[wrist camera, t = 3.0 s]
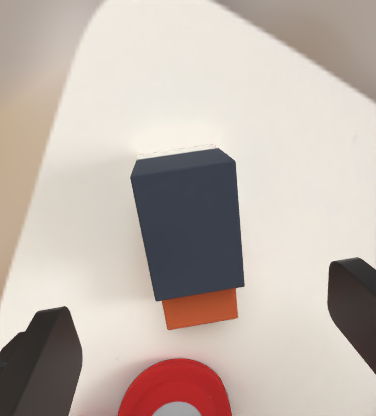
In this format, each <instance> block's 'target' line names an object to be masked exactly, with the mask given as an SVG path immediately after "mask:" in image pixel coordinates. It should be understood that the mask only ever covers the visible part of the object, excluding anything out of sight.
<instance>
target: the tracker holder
mask: <svg viewBox="0 0 376 416" xmlns="http://www.w3.org/2000/svg"><path fill="white" fill-rule="evenodd" d="M118 416H232V413H231V409H230V404H229V400H228V396H227V393H226V390H225V388H224V385H223V383H222V381H221V379H220V378H219V376H218V375H217V374H216V373H215V372H214V371H213V370H212V369H210V368H209V367H208V366H206V365H204V364H202V363H200V362H197V361H194V360H190V359H171V360H165V361H162V362H159V363H157V364H155V365H153V366H151V367H149V368H148V369H146V370H145V371H144V372H142V373H141V374H140V375H139V376H138V377H137V378H136V379H135V380H134V381H133V382H132V384H131V385H130V387H129V388H128V390H127V391H126V393H125V396H124V398H123V400H122V402H121V405H120V409H119V412H118Z"/></svg>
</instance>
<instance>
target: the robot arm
mask: <svg viewBox="0 0 376 416" xmlns="http://www.w3.org/2000/svg"><path fill="white" fill-rule="evenodd" d="M327 303H328V310H329V313H330V316H331V318H332V320H333V322H334V323H335V325H336V326H337V327H338V328H339V330H340V331H341V332H342V333H343V335H344V336H345V337H346V338H347V339H348V341H349V342H350V343H351V344H352V346H353V347H354V348H355V349H356V351H357V352H358V353H359V354H360V355H361V357H362V358H363V359H364V360H365V362H366V363H367V364H368V365H369V367H370V368H371V369H372V370H373V372H374V373H375V374H376V270H375V269H374V268H373V267H371V266H370V265H369V264H368V263H366V262H365V261H364V260H362V259H361V258H357V257H356V258H350V259H344V260H338V261H333V262H331V264H330V266H329V281H328V301H327ZM81 368H82V348H81V344H80V341H79V338H78V335H77V332H76V329H75V326H74V323H73V320H72V317H71V314H70V311H69V309H68V308H67V307H65V306H64V307H59V308H53V309H47V310H41V311H38V312H37V313H36V314H35V315H34V317H33V319H32V321H31V322H30V324H29V326H28V328H27V329H26V331H25V332H20V333H18V334H17V335H16V336H15V337H14V338H13V339H12V340H11V341H10V342H9V343H8V344H7V345H6V346H5V347H4V348H2V350H1V352H0V416H68V415H69V411H70V408H71V404H72V401H73V397H74V394H75V390H76V386H77V383H78V379H79V376H80V372H81Z"/></svg>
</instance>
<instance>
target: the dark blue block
mask: <svg viewBox="0 0 376 416" xmlns="http://www.w3.org/2000/svg"><path fill="white" fill-rule="evenodd" d="M130 178H131V183H132V188H133V193H134V198H135V203H136V207H137V212H138V217H139V222H140V227H141V232H142V237H143V242H144V247H145V252H146V256H147V261H148V266H149V271H150V276H151V281H152V286H153V291H154V296H155V300H156V301H162V304H163V309H164V314H165V319H166V324H167V329H168V330H172V329H178V328H183V327H189V326H195V325H201V324H206V323H212V322H218V321H224V320H229V319H235V318H238V312H237V301H236V289H235V288H239V287H244V272H243V258H242V245H241V231H240V217H239V203H238V190H237V176H236V162H235V160H233V159H232V158H231V157H229V156H228V155H227V154H225V153H224V152H223V151H221V150H220V149H219V148H217V147H216V146H215V145H213V144H209V145H202V146H195V147H189V148H182V149H175V150H168V151H161V152H154V153H148V154H141V155H138V158H137V160H136V163H135V166H134V169H133V171H132V174H131V177H130Z"/></svg>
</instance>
